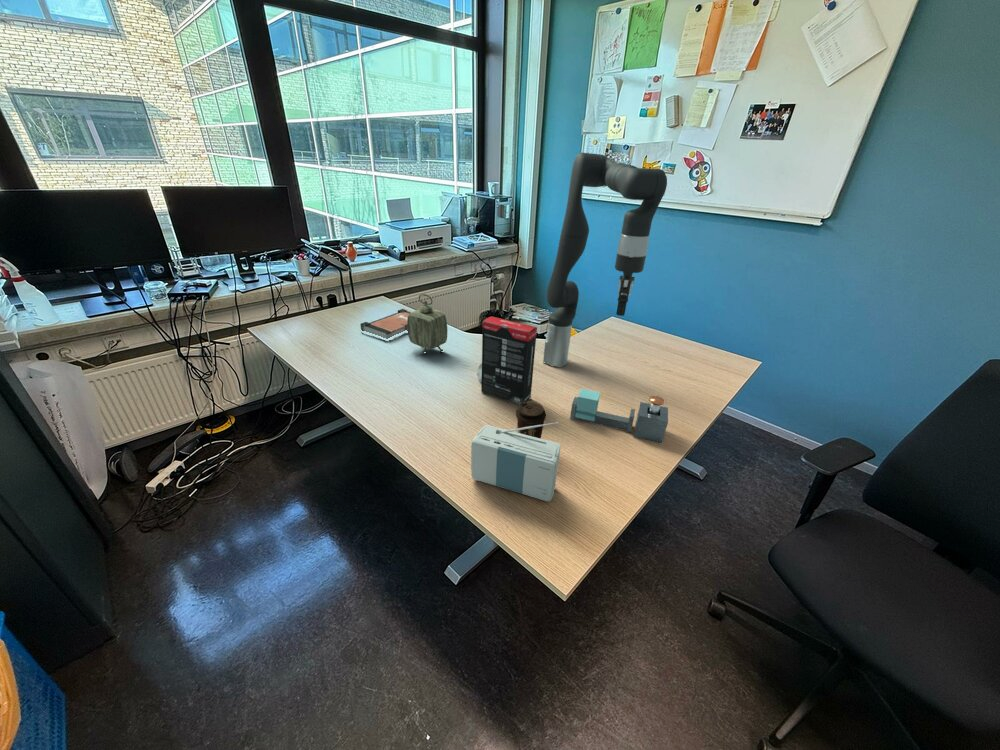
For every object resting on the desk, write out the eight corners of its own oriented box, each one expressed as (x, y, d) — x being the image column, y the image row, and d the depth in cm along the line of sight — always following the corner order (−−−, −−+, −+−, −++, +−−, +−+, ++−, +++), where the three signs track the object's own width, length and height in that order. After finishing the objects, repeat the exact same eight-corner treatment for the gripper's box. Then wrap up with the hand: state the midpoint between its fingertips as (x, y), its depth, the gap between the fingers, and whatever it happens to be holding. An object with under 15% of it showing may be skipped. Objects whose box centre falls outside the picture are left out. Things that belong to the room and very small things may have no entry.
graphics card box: (532, 398, 137) (538, 324, 124) (523, 407, 131) (529, 331, 118) (489, 385, 144) (491, 314, 131) (479, 393, 138) (480, 320, 125)
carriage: (575, 417, 125) (578, 396, 121) (578, 408, 129) (581, 388, 125) (594, 421, 123) (597, 400, 119) (596, 412, 127) (600, 392, 124)
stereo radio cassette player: (469, 482, 100) (469, 418, 91) (482, 462, 107) (483, 400, 97) (549, 507, 94) (558, 440, 84) (557, 484, 101) (566, 420, 91)
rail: (569, 419, 126) (572, 403, 123) (572, 412, 130) (574, 396, 127) (630, 433, 121) (634, 417, 118) (631, 425, 125) (635, 409, 122)
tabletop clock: (448, 352, 166) (446, 295, 154) (434, 360, 159) (430, 300, 147) (422, 344, 173) (418, 288, 161) (407, 351, 166) (402, 293, 154)
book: (388, 343, 174) (387, 332, 171) (361, 333, 182) (360, 323, 179) (428, 326, 193) (428, 316, 191) (403, 318, 201) (402, 308, 199)
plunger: (644, 420, 118) (649, 401, 114) (645, 413, 121) (650, 394, 118) (658, 423, 116) (664, 404, 113) (659, 416, 120) (664, 397, 116)
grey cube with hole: (633, 437, 119) (639, 415, 115) (635, 423, 126) (640, 401, 122) (661, 443, 117) (668, 421, 113) (661, 428, 123) (667, 407, 120)
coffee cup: (512, 436, 117) (514, 399, 111) (539, 435, 118) (543, 399, 112) (515, 455, 110) (518, 417, 104) (545, 454, 111) (549, 416, 104)
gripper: (619, 246, 112) (609, 301, 120) (615, 256, 100) (605, 316, 108) (646, 249, 110) (635, 305, 118) (646, 259, 98) (633, 320, 106)
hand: (621, 310), depth 113 cm, fingers open, 8 cm apart
